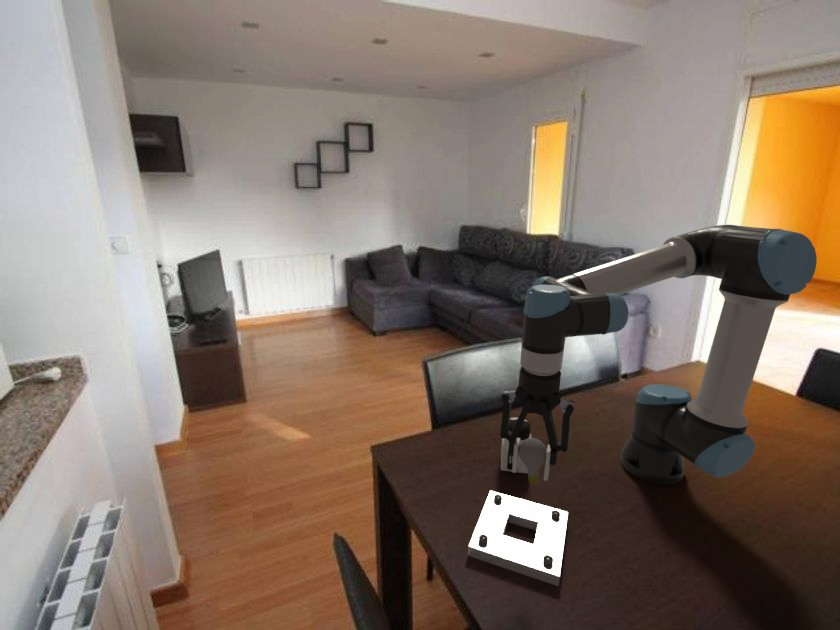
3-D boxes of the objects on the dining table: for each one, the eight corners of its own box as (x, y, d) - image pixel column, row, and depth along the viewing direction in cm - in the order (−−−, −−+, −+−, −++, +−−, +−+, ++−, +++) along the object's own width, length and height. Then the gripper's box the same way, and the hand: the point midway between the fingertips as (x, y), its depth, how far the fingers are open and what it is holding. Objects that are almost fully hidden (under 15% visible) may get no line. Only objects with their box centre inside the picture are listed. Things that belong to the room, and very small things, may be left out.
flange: (567, 520, 97) (568, 509, 96) (558, 586, 81) (560, 573, 80) (489, 498, 104) (490, 487, 103) (467, 555, 88) (468, 543, 87)
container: (530, 474, 112) (534, 431, 108) (500, 470, 114) (503, 428, 110) (529, 456, 119) (532, 415, 116) (501, 453, 121) (503, 413, 117)
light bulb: (516, 477, 89) (514, 434, 87) (541, 473, 90) (540, 431, 87) (525, 494, 84) (523, 449, 82) (552, 489, 85) (550, 445, 82)
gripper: (593, 368, 80) (579, 472, 87) (496, 353, 86) (490, 451, 93) (593, 384, 73) (577, 496, 80) (487, 367, 80) (481, 472, 87)
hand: (530, 472), depth 87 cm, fingers closed on light bulb, 5 cm apart
